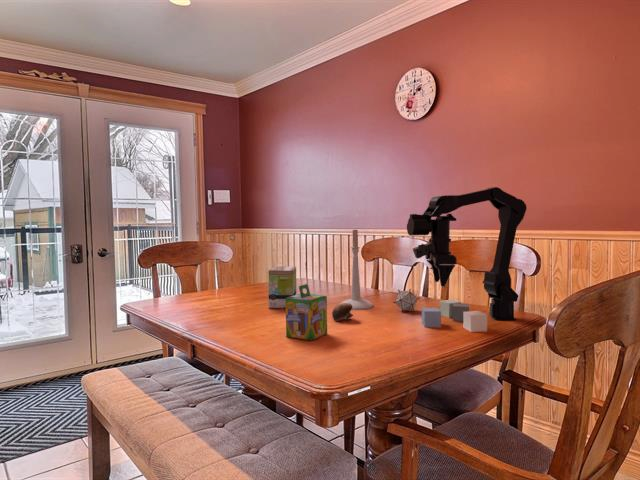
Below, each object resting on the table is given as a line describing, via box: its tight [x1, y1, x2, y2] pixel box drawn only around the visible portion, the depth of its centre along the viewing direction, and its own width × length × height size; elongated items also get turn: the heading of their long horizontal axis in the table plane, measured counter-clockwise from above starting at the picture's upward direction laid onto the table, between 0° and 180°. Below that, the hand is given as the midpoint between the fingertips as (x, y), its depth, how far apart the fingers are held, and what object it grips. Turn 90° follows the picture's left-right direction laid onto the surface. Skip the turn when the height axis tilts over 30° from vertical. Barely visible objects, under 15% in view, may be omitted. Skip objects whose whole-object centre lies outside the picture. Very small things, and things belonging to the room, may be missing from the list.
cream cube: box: [462, 310, 488, 333], centre depth 127 cm, size 5×5×5 cm
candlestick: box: [339, 229, 374, 311], centre depth 162 cm, size 13×13×30 cm
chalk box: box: [285, 283, 328, 341], centre depth 123 cm, size 9×9×15 cm
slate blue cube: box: [421, 307, 442, 328], centre depth 132 cm, size 5×5×5 cm
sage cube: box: [439, 299, 462, 319], centre depth 145 cm, size 5×5×5 cm
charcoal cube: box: [452, 302, 470, 323], centre depth 139 cm, size 5×5×5 cm
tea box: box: [268, 265, 297, 309], centre depth 169 cm, size 15×10×15 cm
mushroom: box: [331, 302, 354, 322], centre depth 141 cm, size 8×8×6 cm
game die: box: [392, 288, 421, 313], centre depth 153 cm, size 9×8×10 cm
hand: (439, 283), depth 135 cm, fingers open, 9 cm apart
